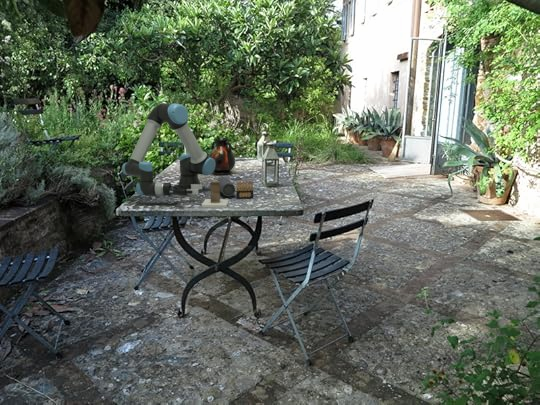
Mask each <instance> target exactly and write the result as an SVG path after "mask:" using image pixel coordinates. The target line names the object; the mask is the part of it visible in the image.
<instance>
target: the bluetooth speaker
mask: <svg viewBox="0 0 540 405" xmlns="http://www.w3.org/2000/svg"><path fill="white" fill-rule="evenodd" d="M216 181H220V193H221V194H222V195H224V196H225V197H232V196H234V194H236V186H235V185H234V183H233V182H232V181H231V179H230V178H228V177H226V176H220V177H218V179H217V180H216Z"/></svg>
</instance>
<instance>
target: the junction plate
mask: <svg viewBox="0 0 540 405" xmlns="http://www.w3.org/2000/svg"><path fill="white" fill-rule="evenodd" d="M229 202H230V199H229V198H228V199H227V198H226V199H224V198H220V203H211V198H205V199H204V201H203V202H202V204H201V208H211V209H212V208H219V209H220V208H221V209H222V208H227V206H229V205H228V204H229Z"/></svg>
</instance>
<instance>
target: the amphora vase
mask: <svg viewBox="0 0 540 405" xmlns="http://www.w3.org/2000/svg"><path fill="white" fill-rule="evenodd" d="M212 140H213V142H212V144H211V151H210V153H209V154H208V157H209V158H213V159H214V160H215V170H214V172H213V173H212V174H211V175H214V176H229V175H232V174H233V171H232V170H233V169H234V168H235V166H236V157H235V154H234V152H233V150H232V145H231V142H229V141H230V138H228V137H215V138H213V139H212Z"/></svg>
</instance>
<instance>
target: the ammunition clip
mask: <svg viewBox="0 0 540 405" xmlns="http://www.w3.org/2000/svg"><path fill="white" fill-rule="evenodd" d="M235 195H236V196H235V198H236V200H248V199H249V200H254V199H255V198H254V197H255V196H254V181H253V179H251V180H250V179H248V181H247V179H243V180H242V179H237V180H236V186H235Z"/></svg>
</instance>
